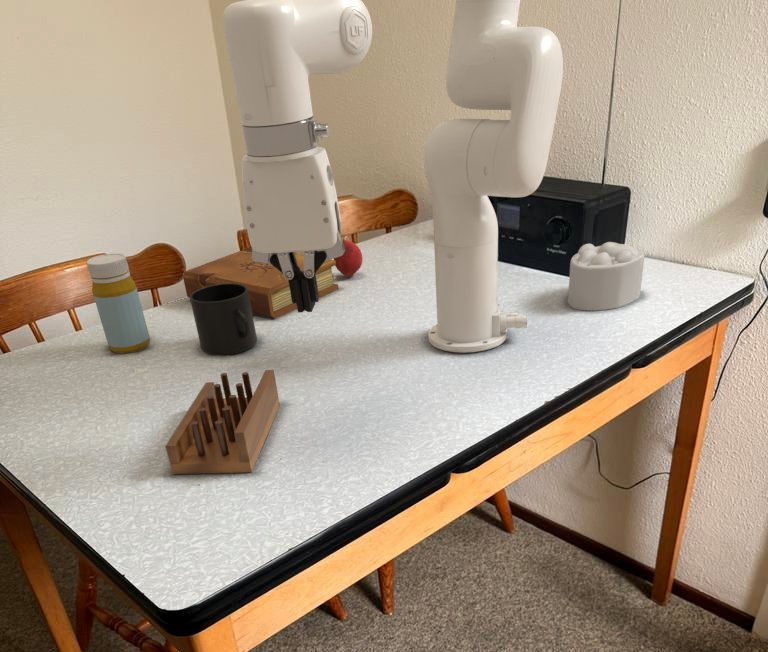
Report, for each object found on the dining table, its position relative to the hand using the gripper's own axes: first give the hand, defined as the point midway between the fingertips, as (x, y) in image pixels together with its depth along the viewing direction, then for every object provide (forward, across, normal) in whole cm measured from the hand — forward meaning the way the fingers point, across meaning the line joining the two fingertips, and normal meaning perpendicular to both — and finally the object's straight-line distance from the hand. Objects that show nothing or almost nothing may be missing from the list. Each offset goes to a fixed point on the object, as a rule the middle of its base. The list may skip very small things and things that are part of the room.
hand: (306, 307), depth 90 cm
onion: (+18, +6, -65) cm, 67 cm away
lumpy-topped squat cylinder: (+18, -41, -46) cm, 64 cm away
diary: (+18, +22, -56) cm, 62 cm away
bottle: (+17, +40, -32) cm, 54 cm away
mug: (+17, +21, -30) cm, 40 cm away
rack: (+16, +13, +2) cm, 21 cm away
